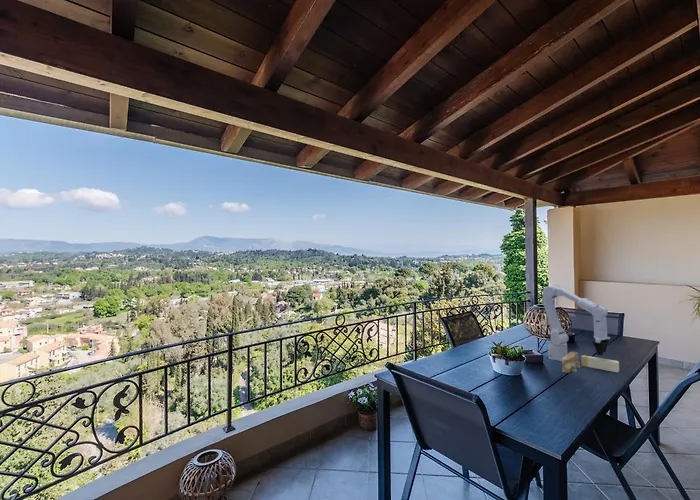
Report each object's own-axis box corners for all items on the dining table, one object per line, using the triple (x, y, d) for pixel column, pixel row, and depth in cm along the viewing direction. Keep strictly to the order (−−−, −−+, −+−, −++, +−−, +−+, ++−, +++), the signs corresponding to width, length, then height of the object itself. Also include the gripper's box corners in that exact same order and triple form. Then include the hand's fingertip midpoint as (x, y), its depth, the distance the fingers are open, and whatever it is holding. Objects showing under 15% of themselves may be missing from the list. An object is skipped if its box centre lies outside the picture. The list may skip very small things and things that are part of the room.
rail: (581, 365, 182) (580, 356, 182) (583, 363, 184) (582, 355, 184) (617, 372, 170) (617, 363, 170) (619, 370, 172) (618, 361, 173)
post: (562, 371, 173) (561, 358, 173) (571, 363, 185) (571, 351, 185) (573, 374, 169) (572, 360, 169) (582, 365, 181) (581, 353, 181)
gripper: (606, 331, 169) (607, 358, 169) (612, 327, 179) (613, 352, 178) (590, 329, 174) (591, 355, 174) (596, 325, 184) (597, 349, 184)
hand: (601, 353), depth 176 cm, fingers open, 7 cm apart
